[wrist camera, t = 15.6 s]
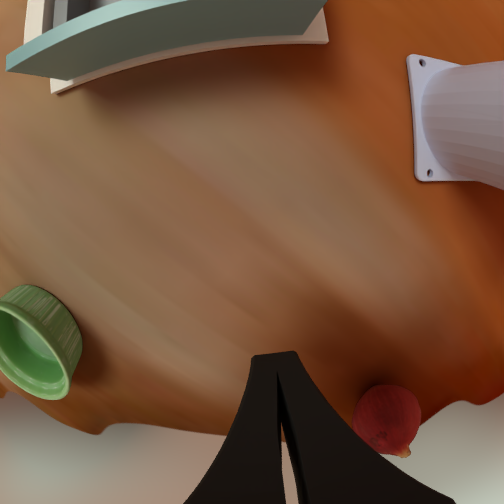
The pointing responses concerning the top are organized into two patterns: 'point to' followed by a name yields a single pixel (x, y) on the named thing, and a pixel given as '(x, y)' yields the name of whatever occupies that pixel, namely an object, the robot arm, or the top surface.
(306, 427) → the robot arm
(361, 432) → the onion
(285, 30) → the tray
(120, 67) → the housing
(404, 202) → the top surface
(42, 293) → the ramekin
